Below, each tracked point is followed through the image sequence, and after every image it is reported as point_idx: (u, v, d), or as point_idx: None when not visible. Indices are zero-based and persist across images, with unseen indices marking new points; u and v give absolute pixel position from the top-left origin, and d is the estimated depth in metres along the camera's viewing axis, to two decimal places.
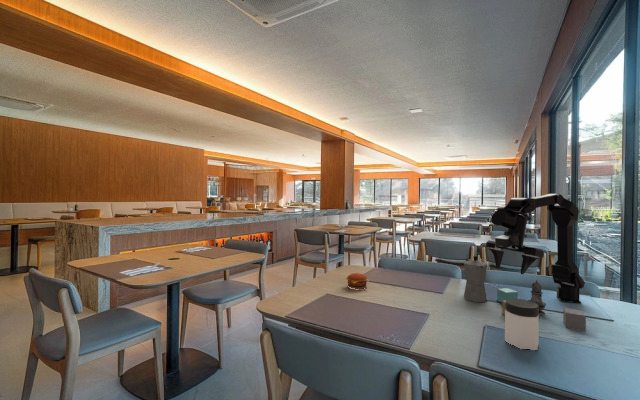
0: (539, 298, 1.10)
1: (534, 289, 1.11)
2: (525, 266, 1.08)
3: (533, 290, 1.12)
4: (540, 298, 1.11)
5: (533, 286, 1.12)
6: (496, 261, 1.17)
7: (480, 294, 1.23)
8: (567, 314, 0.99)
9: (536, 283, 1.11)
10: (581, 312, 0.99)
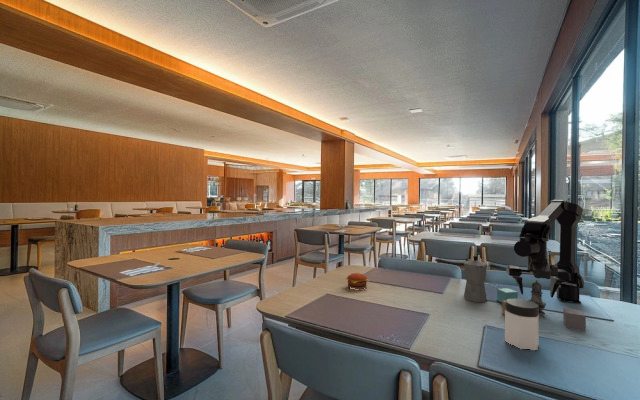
0: (539, 298, 1.10)
1: (534, 289, 1.11)
2: None
3: (533, 290, 1.12)
4: (540, 298, 1.11)
5: (533, 286, 1.12)
6: (521, 288, 1.13)
7: (480, 294, 1.23)
8: (567, 314, 0.99)
9: (536, 283, 1.11)
10: (581, 312, 0.99)
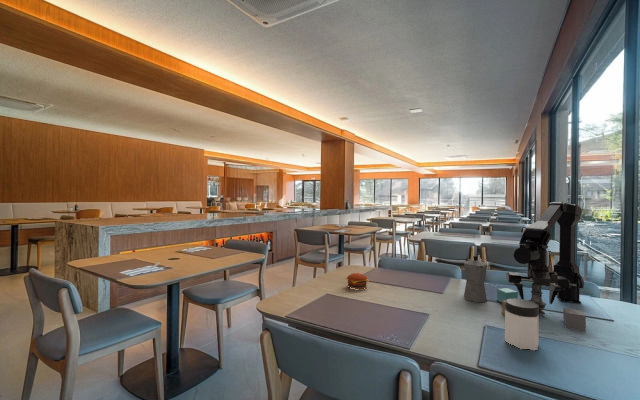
0: (539, 298, 1.10)
1: (534, 289, 1.11)
2: None
3: (533, 290, 1.12)
4: (540, 298, 1.11)
5: (533, 286, 1.12)
6: (522, 295, 1.13)
7: (480, 294, 1.23)
8: (567, 314, 0.99)
9: None
10: (581, 312, 0.99)
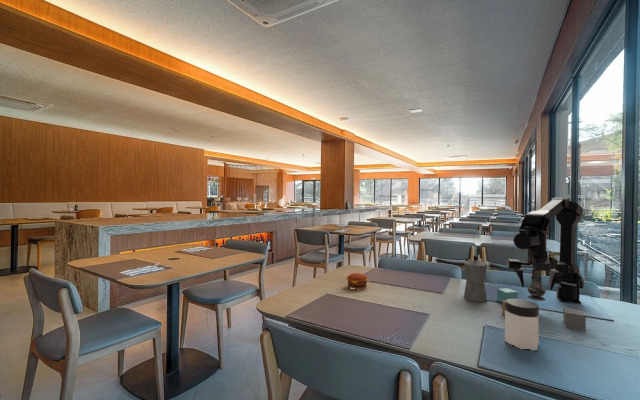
0: (539, 284, 1.10)
1: (534, 275, 1.11)
2: None
3: (533, 276, 1.11)
4: (540, 284, 1.11)
5: (533, 272, 1.11)
6: (522, 281, 1.13)
7: (480, 294, 1.23)
8: (567, 314, 0.99)
9: None
10: (581, 312, 0.99)
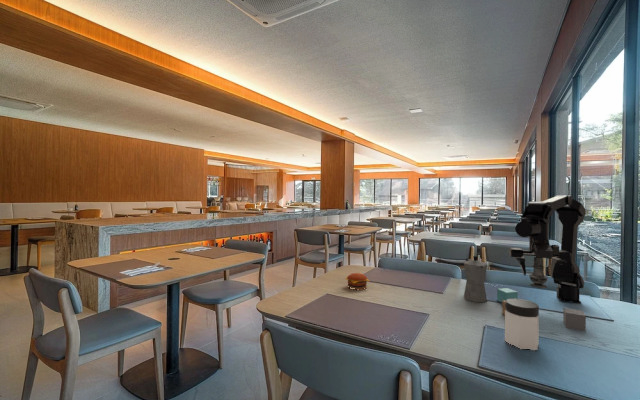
0: (541, 272, 1.12)
1: (536, 263, 1.12)
2: None
3: (535, 264, 1.13)
4: (542, 272, 1.12)
5: (535, 260, 1.13)
6: (524, 269, 1.14)
7: (480, 294, 1.23)
8: (567, 314, 0.99)
9: None
10: (581, 312, 0.99)
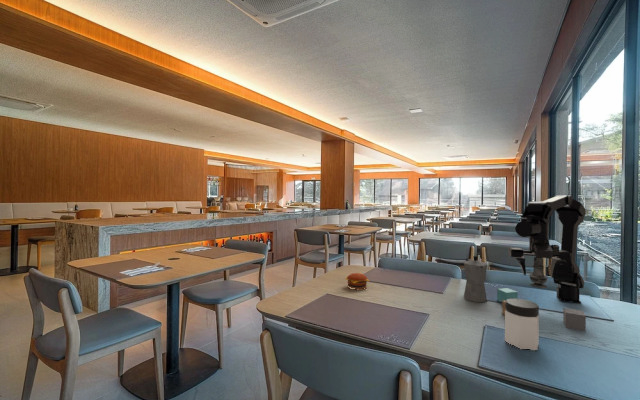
0: (541, 272, 1.12)
1: (536, 263, 1.12)
2: None
3: (535, 264, 1.13)
4: (542, 271, 1.12)
5: (535, 260, 1.13)
6: (524, 269, 1.14)
7: (480, 294, 1.23)
8: (567, 314, 0.99)
9: None
10: (581, 312, 0.99)
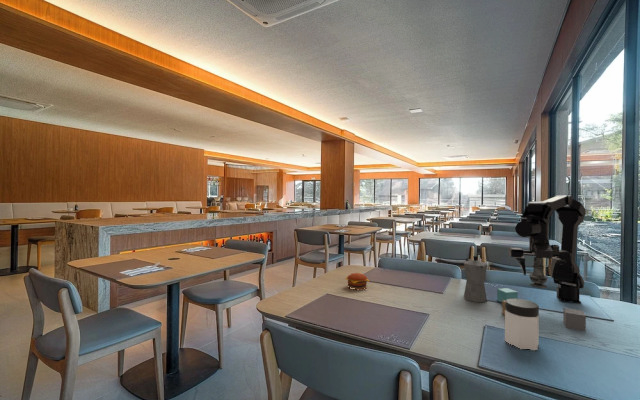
0: (541, 272, 1.12)
1: (536, 263, 1.12)
2: None
3: (535, 264, 1.13)
4: (542, 271, 1.12)
5: (535, 260, 1.13)
6: (524, 269, 1.14)
7: (480, 294, 1.23)
8: (567, 314, 0.99)
9: None
10: (581, 312, 0.99)
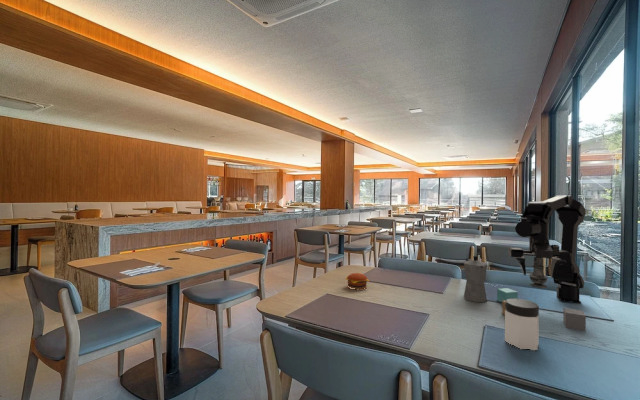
0: (541, 272, 1.12)
1: (536, 263, 1.12)
2: None
3: (535, 264, 1.13)
4: (542, 271, 1.12)
5: (535, 260, 1.13)
6: (524, 269, 1.14)
7: (480, 294, 1.23)
8: (567, 314, 0.99)
9: None
10: (581, 312, 0.99)
